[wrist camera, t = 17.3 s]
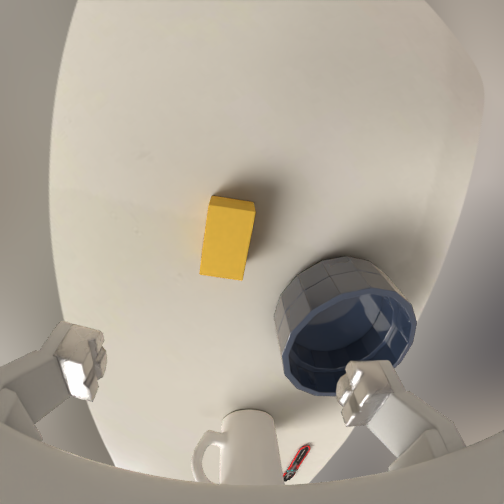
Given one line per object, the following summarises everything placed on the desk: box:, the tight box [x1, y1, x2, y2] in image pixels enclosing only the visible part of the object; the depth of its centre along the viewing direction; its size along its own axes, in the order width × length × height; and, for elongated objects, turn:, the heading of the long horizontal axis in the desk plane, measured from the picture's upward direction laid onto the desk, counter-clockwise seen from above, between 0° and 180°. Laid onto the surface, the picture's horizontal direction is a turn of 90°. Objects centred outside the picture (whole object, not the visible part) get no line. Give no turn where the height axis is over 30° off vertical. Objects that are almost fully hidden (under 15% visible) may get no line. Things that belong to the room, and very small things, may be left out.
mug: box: [191, 409, 285, 486], centre depth 26 cm, size 10×7×12 cm, turn 59°
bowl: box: [274, 256, 417, 396], centre depth 23 cm, size 11×11×6 cm
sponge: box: [199, 196, 256, 281], centre depth 21 cm, size 5×3×2 cm, turn 169°
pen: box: [283, 446, 310, 481], centre depth 37 cm, size 2×14×1 cm, turn 172°
